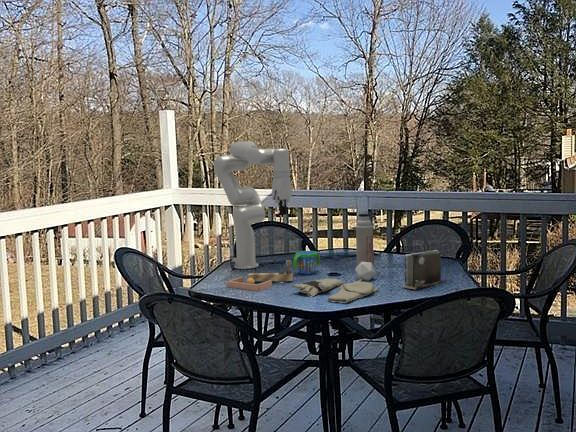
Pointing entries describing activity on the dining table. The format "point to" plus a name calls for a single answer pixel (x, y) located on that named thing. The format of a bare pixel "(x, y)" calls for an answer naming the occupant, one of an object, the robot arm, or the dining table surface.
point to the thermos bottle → (364, 240)
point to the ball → (250, 281)
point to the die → (365, 271)
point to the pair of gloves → (345, 291)
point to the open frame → (240, 285)
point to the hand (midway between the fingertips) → (283, 214)
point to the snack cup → (306, 261)
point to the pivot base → (281, 281)
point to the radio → (422, 269)
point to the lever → (275, 274)
